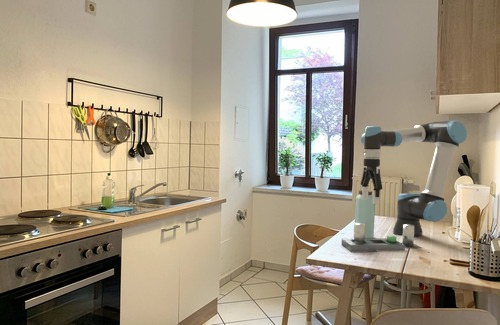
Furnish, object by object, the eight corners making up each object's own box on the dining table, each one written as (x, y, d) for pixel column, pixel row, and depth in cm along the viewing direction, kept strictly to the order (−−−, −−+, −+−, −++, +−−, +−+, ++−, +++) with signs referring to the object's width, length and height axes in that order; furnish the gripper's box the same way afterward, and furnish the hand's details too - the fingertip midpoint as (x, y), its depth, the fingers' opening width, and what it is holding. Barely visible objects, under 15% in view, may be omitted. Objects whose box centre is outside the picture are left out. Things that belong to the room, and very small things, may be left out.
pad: (411, 243, 183) (411, 242, 183) (423, 249, 173) (423, 248, 173) (392, 243, 182) (393, 242, 182) (403, 249, 172) (403, 248, 172)
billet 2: (409, 244, 180) (410, 224, 180) (415, 246, 175) (416, 226, 175) (400, 244, 180) (401, 224, 179) (405, 246, 175) (406, 226, 175)
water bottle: (374, 240, 187) (377, 192, 186) (354, 239, 189) (356, 191, 188) (372, 236, 197) (374, 190, 196) (353, 234, 199) (355, 189, 198)
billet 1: (361, 243, 176) (362, 222, 175) (366, 246, 171) (367, 225, 170) (351, 243, 175) (352, 222, 175) (355, 246, 170) (356, 225, 170)
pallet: (392, 244, 181) (392, 238, 181) (404, 251, 169) (405, 245, 169) (341, 244, 178) (341, 238, 178) (350, 251, 166) (351, 245, 166)
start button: (393, 240, 177) (393, 235, 177) (397, 242, 173) (398, 237, 173) (385, 240, 176) (385, 235, 176) (389, 242, 172) (389, 237, 172)
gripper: (355, 157, 189) (353, 198, 190) (375, 159, 164) (373, 206, 165) (369, 157, 190) (367, 198, 191) (391, 159, 165) (389, 206, 166)
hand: (370, 201), depth 178 cm, fingers open, 13 cm apart
